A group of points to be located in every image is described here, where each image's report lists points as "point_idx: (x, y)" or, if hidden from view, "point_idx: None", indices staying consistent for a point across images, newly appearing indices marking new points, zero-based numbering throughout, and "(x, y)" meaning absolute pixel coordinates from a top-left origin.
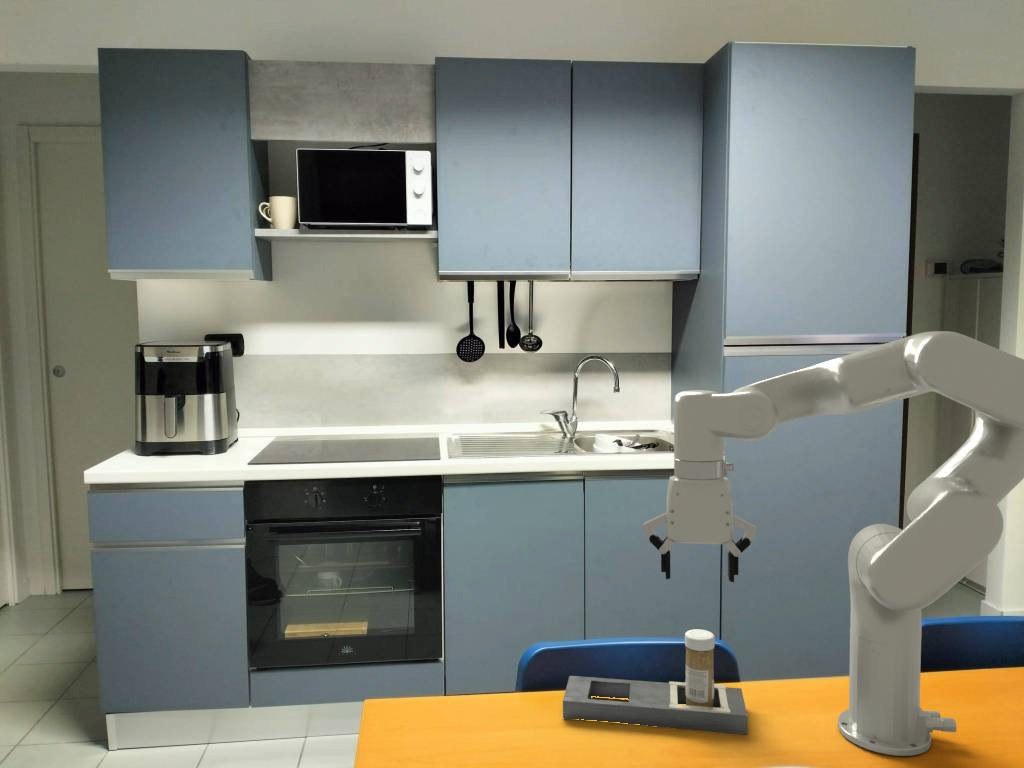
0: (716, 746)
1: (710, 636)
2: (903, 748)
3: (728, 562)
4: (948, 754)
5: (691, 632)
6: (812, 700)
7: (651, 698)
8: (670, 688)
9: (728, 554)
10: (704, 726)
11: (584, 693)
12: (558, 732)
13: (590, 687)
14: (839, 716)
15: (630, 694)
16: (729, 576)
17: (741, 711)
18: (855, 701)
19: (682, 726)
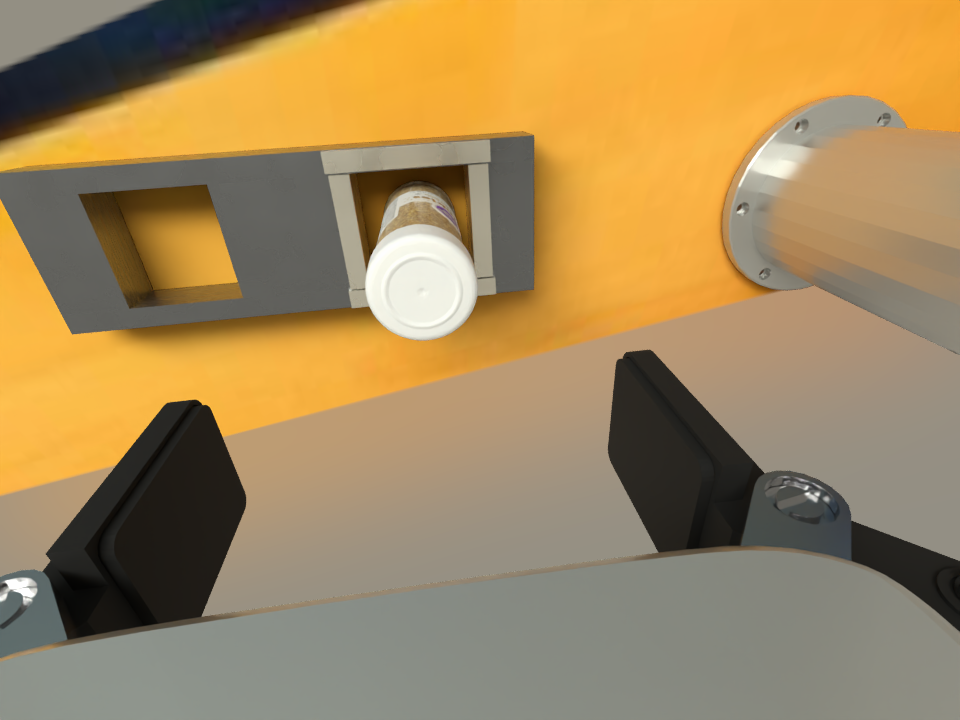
0: (460, 333)
1: (464, 307)
2: (810, 283)
3: (658, 475)
4: None
5: (390, 286)
6: (720, 39)
7: (295, 263)
8: (334, 200)
9: (692, 522)
10: None
11: (105, 281)
12: (124, 367)
13: (94, 214)
14: (746, 174)
15: (232, 255)
16: (619, 477)
17: (522, 272)
18: (797, 253)
19: None
